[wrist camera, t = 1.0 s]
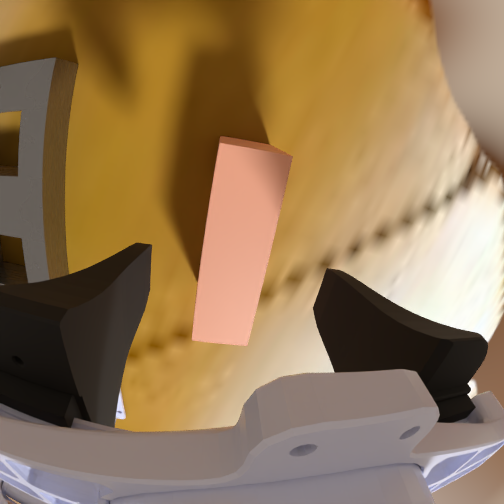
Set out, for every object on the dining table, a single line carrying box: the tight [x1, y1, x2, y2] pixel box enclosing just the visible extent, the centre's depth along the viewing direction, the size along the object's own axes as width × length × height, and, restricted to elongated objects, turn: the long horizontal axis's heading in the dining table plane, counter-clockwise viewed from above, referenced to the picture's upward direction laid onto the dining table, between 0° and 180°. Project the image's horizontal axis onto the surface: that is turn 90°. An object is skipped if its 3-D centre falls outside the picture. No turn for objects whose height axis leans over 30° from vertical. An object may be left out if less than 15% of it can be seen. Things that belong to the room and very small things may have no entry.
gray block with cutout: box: [0, 58, 78, 285], centre depth 15 cm, size 18×9×3 cm, turn 169°
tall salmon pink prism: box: [192, 136, 293, 346], centre depth 16 cm, size 10×3×6 cm, turn 169°
